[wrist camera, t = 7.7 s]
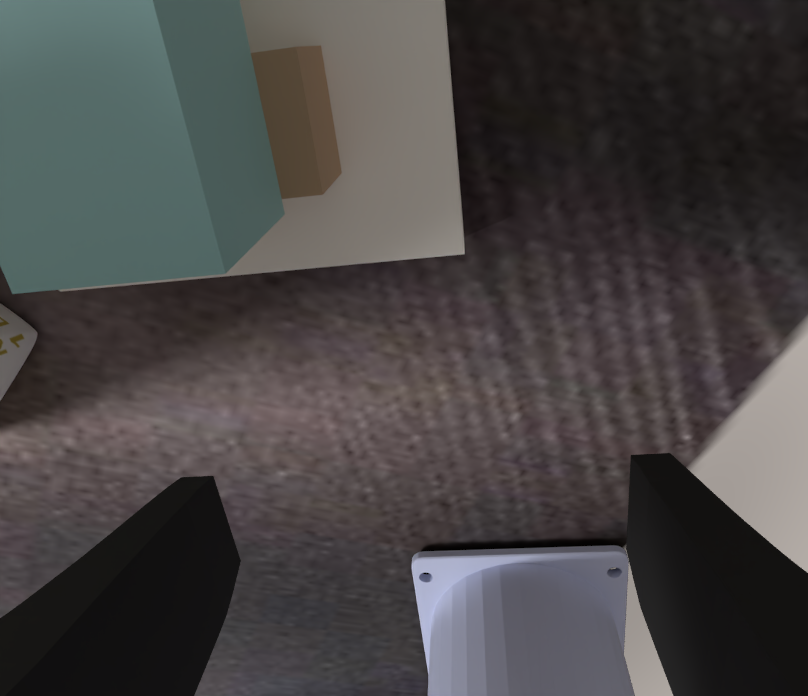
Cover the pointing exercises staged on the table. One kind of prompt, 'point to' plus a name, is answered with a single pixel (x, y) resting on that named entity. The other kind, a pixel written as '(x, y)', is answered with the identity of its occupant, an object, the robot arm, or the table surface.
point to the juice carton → (13, 346)
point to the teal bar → (129, 142)
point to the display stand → (354, 133)
